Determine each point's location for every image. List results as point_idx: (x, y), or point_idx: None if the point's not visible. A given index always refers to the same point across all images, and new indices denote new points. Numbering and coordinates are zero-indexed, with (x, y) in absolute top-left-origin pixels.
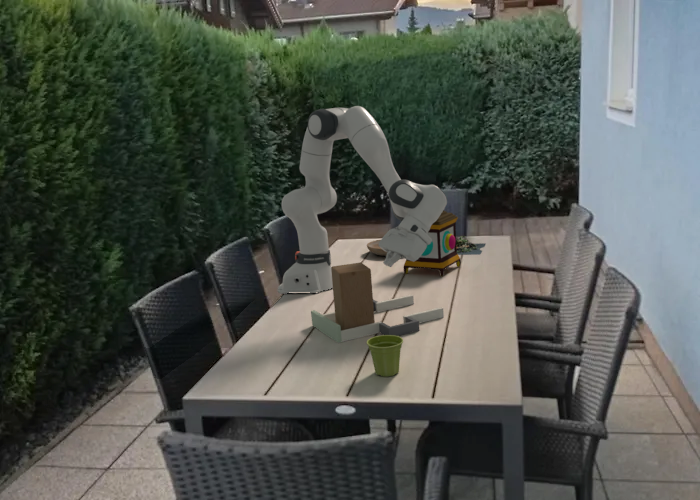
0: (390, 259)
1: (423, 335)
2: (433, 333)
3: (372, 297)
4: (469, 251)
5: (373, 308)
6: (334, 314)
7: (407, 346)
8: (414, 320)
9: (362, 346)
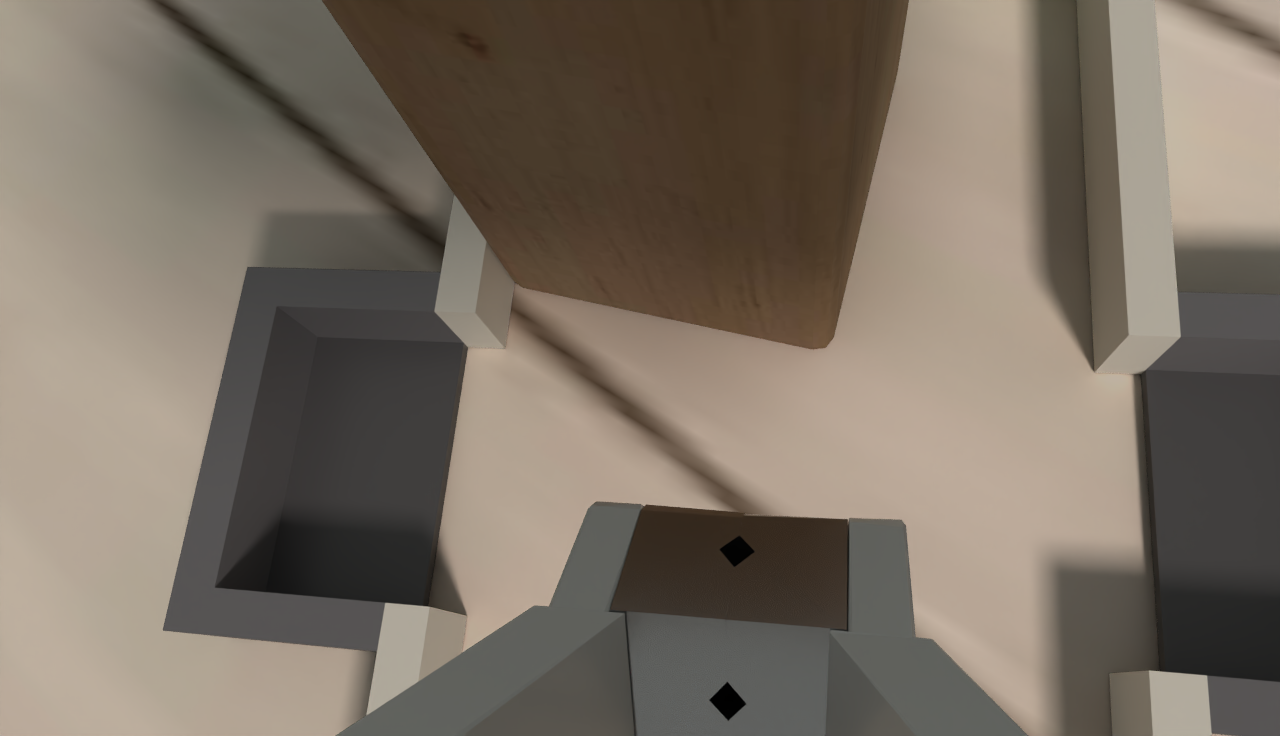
0: (553, 613)
1: (105, 581)
2: (65, 693)
3: (377, 78)
4: None
5: (435, 166)
6: (1107, 80)
7: (40, 316)
8: (217, 608)
9: (319, 53)
